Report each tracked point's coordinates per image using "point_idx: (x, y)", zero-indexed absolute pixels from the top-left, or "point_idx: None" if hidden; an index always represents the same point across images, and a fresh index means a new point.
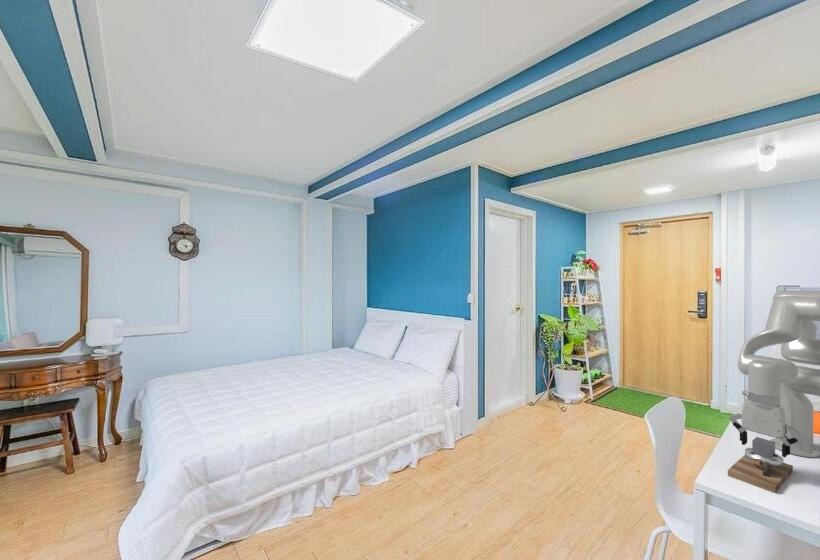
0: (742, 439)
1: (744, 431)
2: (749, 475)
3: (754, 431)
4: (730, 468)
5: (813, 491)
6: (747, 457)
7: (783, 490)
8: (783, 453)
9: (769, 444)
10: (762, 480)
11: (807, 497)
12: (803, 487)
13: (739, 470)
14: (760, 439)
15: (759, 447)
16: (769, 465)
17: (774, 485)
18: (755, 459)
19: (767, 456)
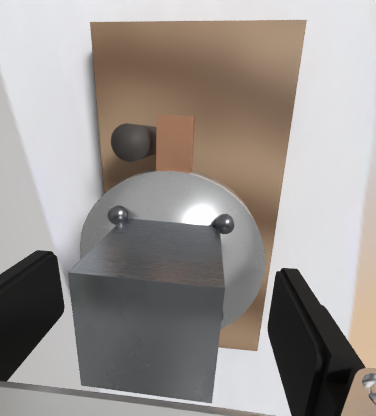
0: (308, 296)
1: (334, 409)
2: (204, 55)
3: (193, 408)
4: (296, 57)
5: (41, 202)
6: (239, 197)
7: (96, 108)
8: (27, 262)
9: (85, 294)
10: (147, 46)
11: (32, 124)
12: (68, 209)
13: (254, 77)
14: (175, 365)
15: (171, 252)
16: (114, 134)
17: (96, 35)
18: (185, 136)
19: (136, 224)
